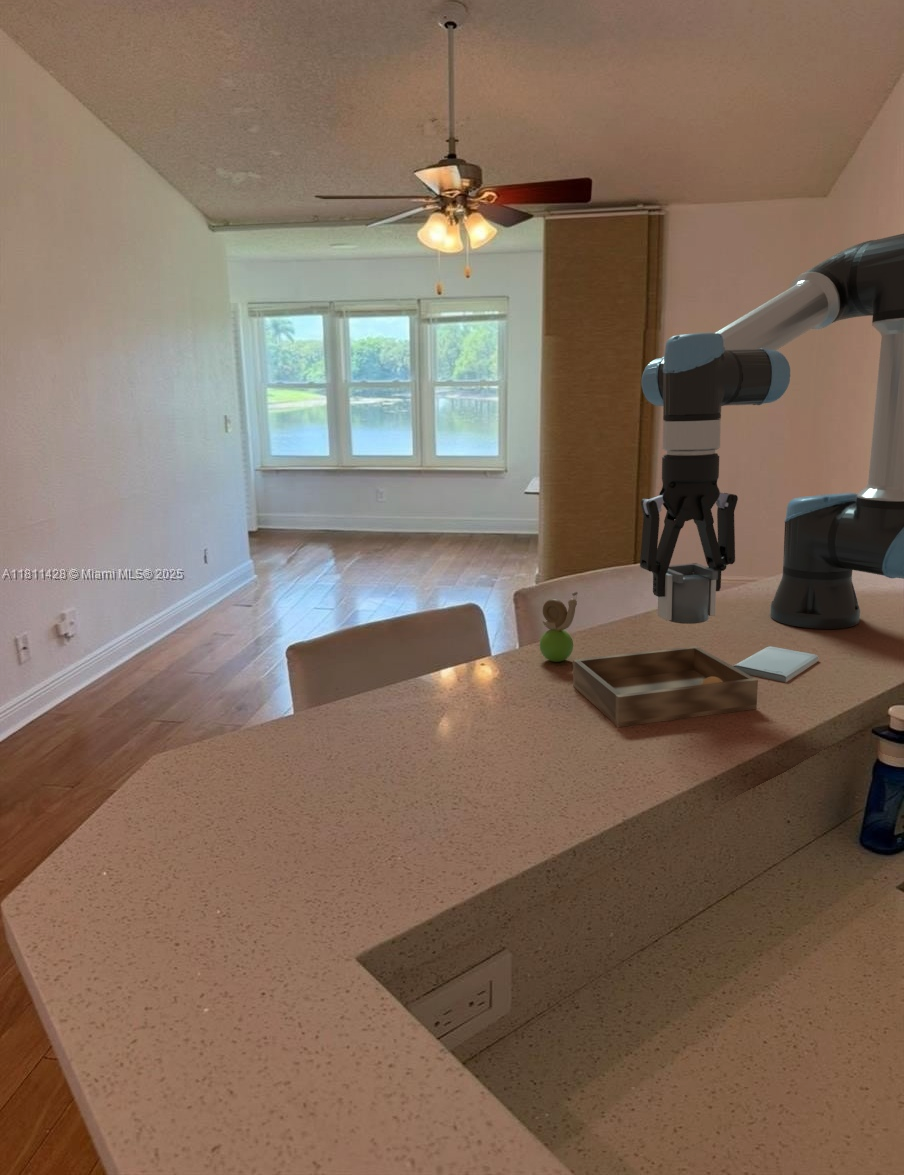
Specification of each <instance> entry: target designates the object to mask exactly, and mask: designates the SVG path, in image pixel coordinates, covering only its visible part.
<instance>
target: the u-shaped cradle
mask: <svg viewBox="0 0 904 1175" xmlns="http://www.w3.org/2000/svg"><path fill="white" fill-rule="evenodd" d="M667 573H669V574H671V575H672V620H669V621H668V622H671V623H675V624H682V625H683V624H686V625H694V624H695V625H696V624H701V623H705V622H708V620H709V615H708V611H709V579H711V580H718V571H717V570H714V569H711V568H709V566H705V565H702V564H699V563H697V562H692V563H683V564H682V563H681V564H673V565H669V568H668V571H667Z"/></svg>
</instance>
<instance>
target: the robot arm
mask: <svg viewBox="0 0 904 1175" xmlns="http://www.w3.org/2000/svg"><path fill="white" fill-rule="evenodd" d="M867 316H870V317H871V316H872V320H871V321H872V322H871V325H872V327H873V328H874V329H875V330H876V331H878V333H879V334H880V336H881V341H880V348H879V360H878V362H879V363H878V371H877V382H876V383H877V384H876V394H875V404H874V405H875V406H874V414H873V416H874V417H873V426H872V427H873V429H872V436H871V447H870V448H871V449H870V460H869V470H868V480H867V485H866V486H865V487H864V488H863V489H862V490H860V491H859V492H858V493H853V492H845V493H844V492H843V493H830V494H829V493H828V494H817V495H808V496H799V497H795V498H793V499H790V501H789V502H788V503H787V506H786V511H785V512H786V513H785V519H784V533H783V534H784V538H783V539H784V540H783V561H782V562H783V563H782V575H781V579H780V582H779V584H778V586H777V589H776V592H775V594H774V597H773V600H772V601H771V603H770V614H769V615H770V618H771V619H772V620H774V621H775V622H778V623H781V624H784V625H788V626H794V627H799V628H805V629H815V630H816V629H820V630H837V629H846V628H851V627H854V626H856V625H858V624H859V623H860V617H861V608H860V606H859V602H858V598H857V594H856V590H855V587H854V586H855V585H854V583H853V571H856V572H862V573H868V574H873V575H879V576H884V577H886V578H888V579H903V580H904V233H901V234H896V235H891V236H888V237H883V238H878V239H871V240H866V241H863V242H860V243H857V244H855V245H853V246H850V247H847V248H846V249H844V250H841V251H840V252H838V253H836V254H834V255H832V256H830V257H829V258H827V259H825V260H822V262H820V263H818V264H817V265H814V267H811V268H809V269H808V270H806V271H805V272H803V273H801V274H799V275H798V276H796V277H795V278H794V280H793V281H792V282H791V283H790V285H789V288H788V289H787V290H785V291H783V292H781V293H779V294H778V295H777V296H775V297H773V298H771V299H769V300H767V302H765V303H762V304H761V305H760V306H758V307H757V308H754V309H752V310H751V311H749V312H747V313H746V314H744V315H742V316H741V317H739V318H738V319H736V320H734V321H733V322H731V323H729V324H728V325H726V326H724V327H723V328H721V329H720V330H717V331H716V332H698V333H697V332H695V333H686V334H684V333H683V334H677V335H672V336H671V337H669V338H668V339H667V340H666V342H665V346H664V347H665V348H664V355H663V356H662V357H660V358H655V359H653V360H652V361H650V362H649V363H648V364H647V365H646V366H645V368H644V371H643V373H642V375H641V383H640V384H641V389H642V393H643V396H644V397H645V399H646V400H647V402H649V403H650V404H652V405H654V406H657V407H662V409H663V412H662V414H663V415H662V417H663V418H662V419H663V420H662V449H663V451H665V452H666V454H664V455H663V456H662V457H661V481H662V485H661V486H662V487H661V489H660V492H659V494H658V495H657V496H655V497H651V498H649V499H648V498H642V499H641V501H640V508H641V510H642V515H643V520H642V532H641V533H642V534H641V547H640V560H639V566H640V568H641V569H643V570H646V571H648V572H650V573H652V592H653V596H655V597H657V617H658V618H661V619H663V620H665V621H667V622H670V621H669V620H672V575H671V574H669V573H667V571H668V568H669V566H671V565H670V564H671V561H672V558H673V555H674V551H675V549H676V545H677V542H678V539H679V536H680V532H681V530H682V529H683V528H684V525H685V523H686V522H689V521H691V520H693V522H694V524H695V525H696V528H697V532H698V533H697V534H698V536H699V539H700V542H701V543H700V544H701V547H702V551H703V554H704V558H705V561H706V564H707V567H708V568H711V569H714V570H717V571H718V580H711V579H709V611H708V617H715V616H716V599H717V598H716V596H717V593H716V592H720V591H721V589H722V588H721V587H722V586H721V585H722V572H723V571H725V570H726V569H727V566H728V565H733V564H735V562H736V541H735V540H736V536H735V532H736V531H735V511H736V507H737V503H738V499H739V498H738V495H737V494H732V493H727V492H721V491H720V488H719V487H718V480H719V478H720V477H719V476H720V455H719V453H716V450H719V449H720V448H721V418H722V407H725V406H748V405H749V406H751V405H752V406H761V405H764V404H770V403H773V402H775V401H777V400H779V399H781V397H782V396H783V395H784V394H785V392H786V391H787V389H788V387H789V385H790V382H791V367H790V363H789V361H788V359H787V358H786V357H785V355H784V354H783V353H781V352H780V351H779V349H781V348H782V347H783V348H784V346H786V345H787V344H789V343H790V342H792V341H794V340H795V339H797V338H799V337H801V336H803V334H805V333H806V332H808V331H810V330H822V329H824V328H826V327H828V326H830V325H831V324H833V323H836V322H839V321H843V320H847V319H853V318H859V317H860V318H861V317H867ZM662 505H663V507H664V509H665V510H666V513H665V516H664V520H663V523H664V526H663V529H662V532H661V536H660V539H659V530H660V512H661V511H662ZM715 505H716V507H717V512H716V514H717V515H716V520H717V524H716V525H717V526H716V527H717V534H716V531H715V528H714V522H715V521H714V516H713V513H712V508H713V507H714V506H715Z"/></svg>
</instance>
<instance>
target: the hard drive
mask: <svg viewBox="0 0 904 1175" xmlns="http://www.w3.org/2000/svg"><path fill="white" fill-rule="evenodd" d="M817 662H819V656H818V655H817V654H814V653H809V652H803V651H798V650H792V649H788V648H782V647H776V646H767V647H764V648H763V649H761V650H759V651H757V652H755V653H753V654H752V655H751V656H749V657H747V658H744V659H742V660H741V661H740V662H738V663H735V664H733V665H732V666H733V667H735V668H737V669H739V670H741V671H742V672H744V673H746V674H748V675H750V676H752V677H753V676H754V677H758V678H764V679H768V680H772V681H778V682H783V683H788V682H789V681H791V680H792V679H794V678H795V677H796V676H799V675H800V674H801V673H802V672H804V671H805V670H808V668H810V667H812V666H813V665H814V664H816V663H817Z"/></svg>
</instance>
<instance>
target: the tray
mask: <svg viewBox="0 0 904 1175" xmlns="http://www.w3.org/2000/svg"><path fill="white" fill-rule="evenodd" d="M733 666H734V665H732V664H729V663H728V662H726V661H725V660H723V659H720V658H719V657H717V656H715V655H713V654H712V653H710V652H708V651H707V650H704V649H703V648H700V647H699V646H695V645H693V646H686V647H679V648H678V647H677V648H668V649H659V650H649V651H642V652H631V653H622V654H615V655H614V654H613V655H607V656H605V655H604V656H597V657H588V658H578V659H573V660H572V670H573V671H572V674H573V675H572V677H573V678H572V679H573V680H572V681H573V682H572V683H573V687H574V688H575V689H576V690H577V691H578V692H579V693H580V694H581V695H582V696H583V697H584V698H586V700H588V701H589V702H590V703H591V704H592V705H594V706H595V708H597V709H598V710H599V711H600V712H601V713H602V714H603V715H604V716H606V717H607V718H608V719H609V720H610V721H611V722H612V724H614V725H615V726H617V727H618V728H620V727H627V726H635V725H642V724H653V723H658V722H666V721H673V720H681V719H689V718H697V716H698V717H703V716H704V717H705V716H712V715H719V714H720V713H721V714H726V713H734V712H735V713H736V712H741V711H742V712H743V711H749V710H757V707H758V704H757V703H758V688H759V686H758V684H759V680H758V679H757V678H755V677H753V675H748V674H746V673H744V672H742V671H741V670H739V669H737V668H735V667H733ZM712 676H714V677H718V678H720V679H721V680H722V681H723V682H719V683H711V684H702V682H703V681H704V680H705V679H706V678H708V677H712ZM701 684H702V685H701Z"/></svg>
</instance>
